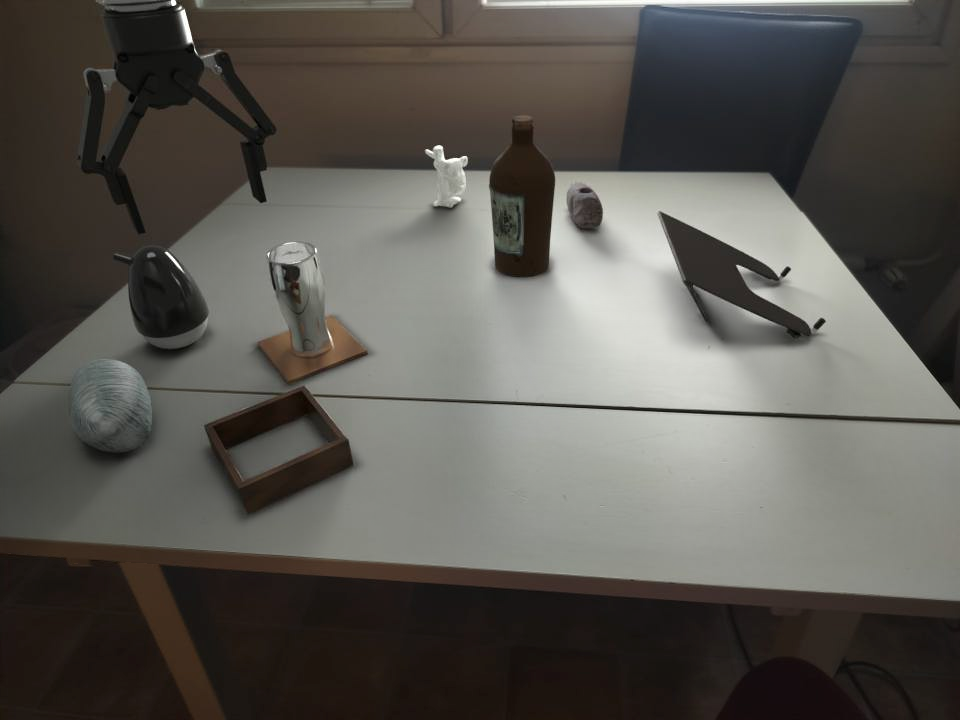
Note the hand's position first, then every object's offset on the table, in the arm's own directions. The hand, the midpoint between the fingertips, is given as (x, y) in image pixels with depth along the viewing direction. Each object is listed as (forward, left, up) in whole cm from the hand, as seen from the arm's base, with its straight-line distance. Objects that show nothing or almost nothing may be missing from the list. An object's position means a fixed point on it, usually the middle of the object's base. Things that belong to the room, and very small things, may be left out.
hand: (202, 214), depth 76 cm
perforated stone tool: (+71, +13, -25) cm, 76 cm away
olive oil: (+50, +5, -25) cm, 56 cm away
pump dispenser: (-5, +18, -25) cm, 31 cm away
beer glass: (+10, +3, -24) cm, 26 cm away
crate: (-2, -16, -25) cm, 29 cm away
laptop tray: (+67, -26, -25) cm, 76 cm away
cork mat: (+10, +3, -25) cm, 27 cm away
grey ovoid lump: (-16, +1, -25) cm, 30 cm away
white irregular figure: (+55, +36, -25) cm, 70 cm away
